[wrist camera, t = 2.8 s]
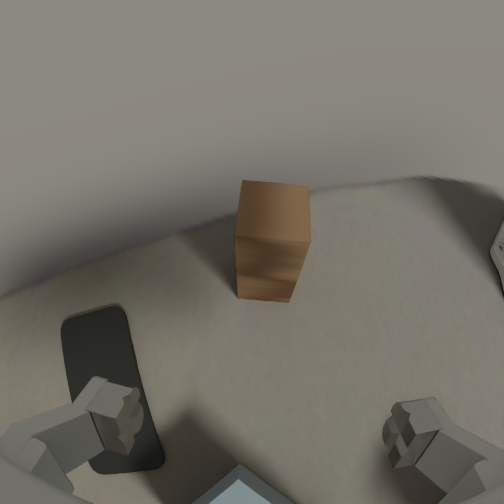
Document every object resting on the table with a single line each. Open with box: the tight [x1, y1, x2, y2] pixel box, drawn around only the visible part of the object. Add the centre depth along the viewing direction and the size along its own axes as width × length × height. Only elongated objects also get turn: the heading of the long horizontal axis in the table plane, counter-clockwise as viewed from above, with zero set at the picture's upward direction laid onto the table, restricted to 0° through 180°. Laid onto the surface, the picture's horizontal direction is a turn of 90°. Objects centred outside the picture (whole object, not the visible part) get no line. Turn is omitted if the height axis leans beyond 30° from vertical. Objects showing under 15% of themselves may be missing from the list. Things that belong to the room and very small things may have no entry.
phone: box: [61, 307, 164, 474], centre depth 21 cm, size 7×1×15 cm
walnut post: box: [234, 180, 311, 302], centre depth 23 cm, size 4×4×10 cm
